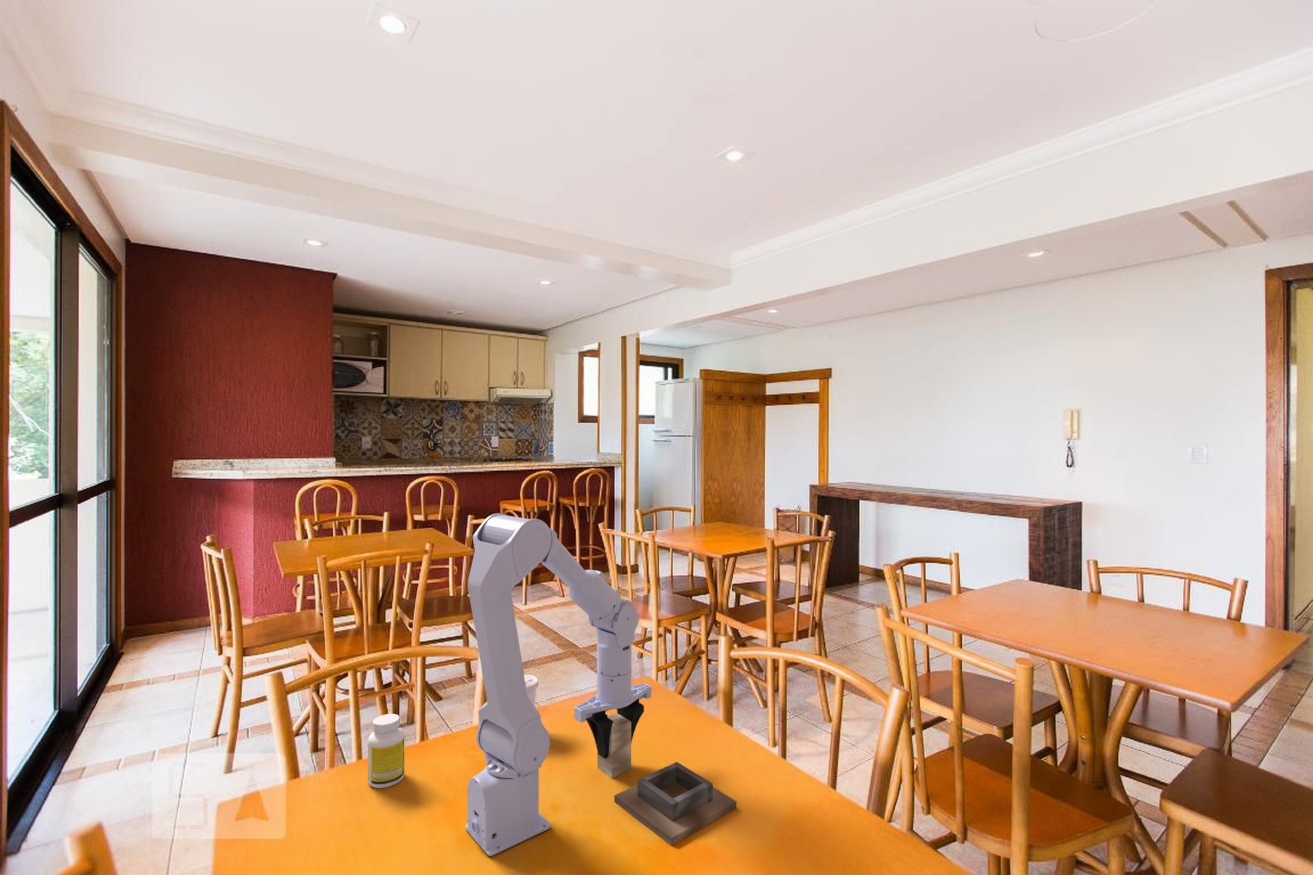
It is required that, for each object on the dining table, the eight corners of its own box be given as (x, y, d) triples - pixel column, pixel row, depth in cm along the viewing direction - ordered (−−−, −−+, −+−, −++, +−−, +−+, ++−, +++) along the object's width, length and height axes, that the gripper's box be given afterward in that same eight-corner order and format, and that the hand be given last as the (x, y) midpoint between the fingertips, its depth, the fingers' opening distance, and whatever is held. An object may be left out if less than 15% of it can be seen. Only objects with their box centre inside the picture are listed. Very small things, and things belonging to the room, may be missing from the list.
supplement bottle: (410, 779, 101) (410, 718, 100) (376, 793, 97) (376, 730, 97) (395, 766, 104) (395, 708, 104) (362, 779, 100) (361, 719, 100)
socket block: (671, 845, 85) (671, 819, 85) (614, 801, 95) (614, 778, 94) (736, 807, 93) (736, 784, 93) (677, 771, 103) (677, 750, 103)
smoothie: (500, 728, 118) (500, 654, 117) (533, 721, 120) (533, 649, 120) (507, 744, 112) (507, 666, 112) (542, 736, 114) (542, 660, 114)
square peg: (611, 777, 101) (611, 728, 101) (597, 767, 104) (597, 720, 104) (631, 769, 104) (631, 721, 103) (616, 759, 107) (616, 712, 107)
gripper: (633, 652, 111) (633, 728, 112) (563, 673, 102) (564, 755, 102) (659, 664, 106) (659, 743, 106) (588, 687, 97) (588, 774, 97)
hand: (614, 750), depth 104 cm, fingers closed on square peg, 4 cm apart
